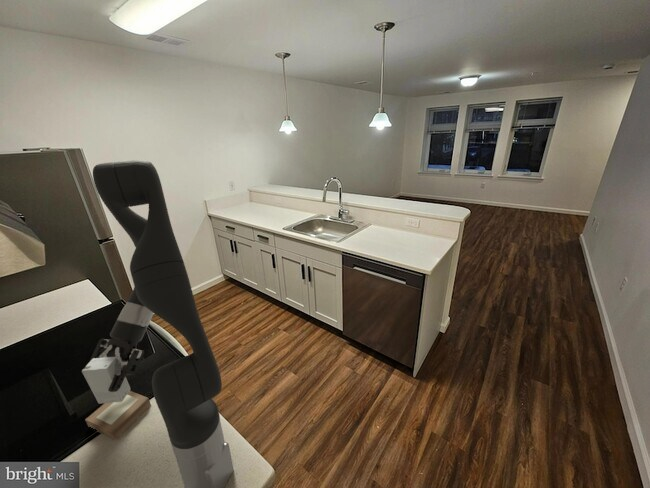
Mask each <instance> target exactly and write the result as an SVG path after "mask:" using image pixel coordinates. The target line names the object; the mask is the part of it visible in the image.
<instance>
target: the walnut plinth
mask: <svg viewBox="0 0 650 488" xmlns="http://www.w3.org/2000/svg"><path fill="white" fill-rule="evenodd" d="M151 406H152V404H151V402H150V398H149V397H147V396H144V395H142V394H139V393H136V392H134V391H132V390H130V391H129V393H128V394H127V395H126V397H125V398H124V400H123V401H122V402H113V403H102V405H100V407H98V408H96V410H95V411H94V412H92V413H91V414H90V415H89V416H88V417H86V418H85V419H84V420H85V422H86V425H87V427H88V428H89V427H91V428H93V429H96V430H97V431H96V432H98V433H99V434H102V435H104V436H106V437H109V438H110V439H113V440H114V441H116V440H118V439H119V438H120V436H121V435H123V433H125V431H127V430H128V429H129V428H130V427H131V426H132V425H133V424H134V423H135V422H136V421H137V420H138V419H139V418H140V416H142V415H143V414H144V413H145V412H146V411H147V410H148V409H149V408H150V407H151ZM91 428H90V429H91ZM93 429H92V430H93Z"/></svg>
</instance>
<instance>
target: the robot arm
mask: <svg viewBox="0 0 650 488" xmlns="http://www.w3.org/2000/svg"><path fill="white" fill-rule="evenodd" d="M154 165H155V164H153V163H152V162H151V161H149V160H146V159H136V160H135V159H133V160H126V161H114V162H113V161H112V162H104V163H103V162H102V163H98V164H96V165H95V166H94V167H93V168H92V179H93V182H94V186H95V188H96V191H97V194H98V195H99V197H100V199H101V201H102V202H103V204H104V205H105V206H106V208H107V209H108V211H109V212H110V213H111V215H112V216H113V217H114V219H115V220H116V221H117V222H118V224H119V225H120V226H121V227H122V229H123V230H124V231H125V233H126V234H127V235H128V236H129V238H130V239H131V241H132V243H133V245H134V247H135V249H134V251H133V254H132V257H131V260H130V264H129V271H130V275H131V279H132V283H133V286H134V287H133V290H132V292H131V294H130V296H129V297H128V299H127V302H126V303H125V305H124V306H123V308H122V310H121V311H120V314H119V315H118V317H117V319H116V321H115V323H114V325H113V327H112V328H111V331H110V332H109V336H110V337H111V338H109V339H108V338H107V339H105V338H100V339H99V340H98V343H97V344H96V346H95V349H94V350H93V353H92V355H91V357H90V358H89V362H90V361H91V360H92V359H93V358H105V357H116V361H115V366H116V367H117V375H115V376H114V379H113V381H112V383H111V385H110V387H109V389H108V391H110V392H116V391H118V389H120V387H121V385H122V383H123V381H124V378H125V377H126V378H127V376H131V375H134V374H136V371H137V369H138V367H139V365H140V364H141V361H142V358H143V357H144V355H145V350H143V349H142V350H141V349H137V345H138V344H139V342H141V341H142V340H143V338H144V335H146V331H147V329H148V327H149V325H150V323H151V320H152V318H153V317H154V316H153V315H154V314H155V315H156V316H157V317H159V318H160V319H162V320H163V321H165V322H166V323H167V324H169V325H170V326H172V327H173V328H174V329H175V330H176V331H177V332H178V333H179V334H180V335H181V336H182V337H183V338H184V339H185V340H186V341H187V343H188V344H189V345H190V347H191V350H192V353H190V354H188V355H185V356H182V357H180V358H179V359H176V360H174V361H172V362H169V363H167V364H165V365H162V366H160V367H158V368H157V369H156V370H154V372H153V374H152V376H151V387H152V388H151V389H152V392H153V393H152V394H153V396H154V399H155V402H156V406H157V408H158V410H159V412H160V415H161V417H162V419H163V422H164V425H165V427H166V430H167V435H168V438H169V441H170V444H171V447H172V450H173V454H174V457H175V460H176V464H177V467H178V469H179V473H180V476H181V479H182V483H183V486H184V488H225V487H226V485H227V483H228V482H229V479H230V477H231V475H232V474H233V473H234V465H233V459H232V455H231V450H230V443H229V442H226V440H225V437H224V433H223V426H222V423H221V417H220V413H219V412H220V411H219V408H218V405H217V402H216V401H214V400H213V398H215V397H217V395H219V394H220V393H221V391H222V385H223V384H222V383H223V382H222V377H221V371H220V369H219V366H218V363H217V360H216V357H215V354H214V353H213V350H212V347H211V344H210V342H209V339H208V336H207V334H206V332H205V328H204V326H203V323H202V321H201V317H200V314H199V311H198V308H197V304H196V301H195V296H194V294H193V289H192V285H191V282H190V281H191V280H190V278H189V275H188V272H187V268H186V265H185V263H184V262H185V261H184V259H183V256H182V253H181V251H180V248H179V245H178V242H177V239H176V236H175V234H174V230H173V226H172V224H171V220H170V214H169V211H168V207H167V202H166V199H165V195H164V190H163V186H162V182H161V179H160V176H159V173H158V170H157V169H156V167H155V166H154ZM143 205H148V213H147V218H145V217H143V216H141V215H140V214H138V213H137V212H135V211H134V210H132V209H131V208H130V207H138V206H143Z"/></svg>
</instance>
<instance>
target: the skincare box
mask: <svg viewBox="0 0 650 488" xmlns="http://www.w3.org/2000/svg"><path fill="white" fill-rule="evenodd" d="M115 361H116V357H105V358H98V357H96V358H93V359H92V360H91V361H90V360H89V362H88V363H87V364H86V365H85V367H84V368H83V369H82V370H81V373H82V375H83V376H84V379H85V381H86V382H87V385H88V386H89V388H90V390H91V392H92V393H93V395H94V397H95V399H96V401H97V403H98V404H105V403H113V402H122V401H123V400H124V398H125V397H126V395H127V394H128V393H129V391H131V386H130V384H129V382H128V379H127V376H126V377H125V378H124V381H123V383H122V385H121V387H120V389H118V391H116V392H110V391H108V389H109V387H110V385H111V383H112V381H113V379H114V376H115V375H117V367H116V366H115Z"/></svg>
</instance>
